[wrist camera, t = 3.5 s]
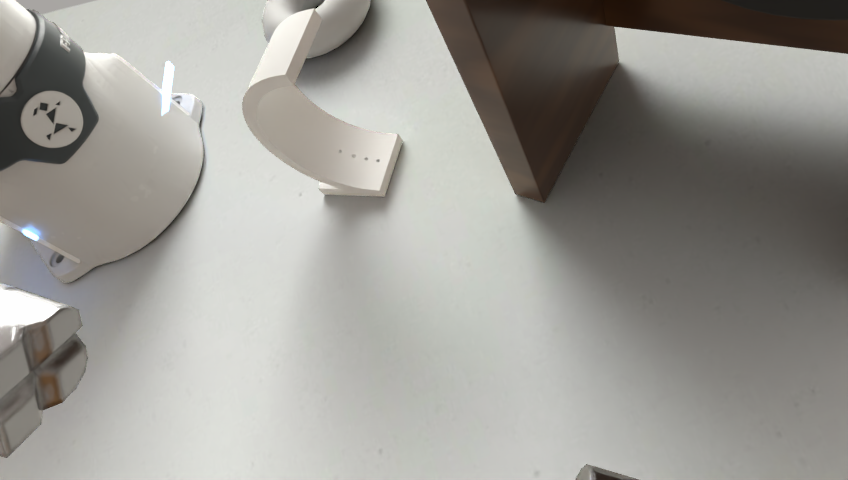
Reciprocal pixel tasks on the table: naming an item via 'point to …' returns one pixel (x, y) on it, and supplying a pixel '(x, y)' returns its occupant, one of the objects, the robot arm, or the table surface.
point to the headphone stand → (313, 121)
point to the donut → (338, 15)
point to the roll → (798, 8)
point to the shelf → (579, 63)
